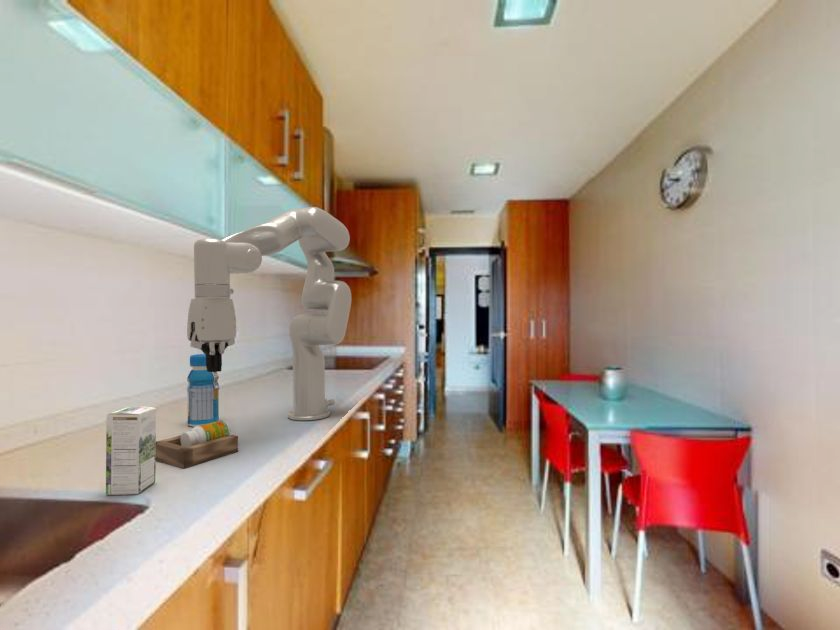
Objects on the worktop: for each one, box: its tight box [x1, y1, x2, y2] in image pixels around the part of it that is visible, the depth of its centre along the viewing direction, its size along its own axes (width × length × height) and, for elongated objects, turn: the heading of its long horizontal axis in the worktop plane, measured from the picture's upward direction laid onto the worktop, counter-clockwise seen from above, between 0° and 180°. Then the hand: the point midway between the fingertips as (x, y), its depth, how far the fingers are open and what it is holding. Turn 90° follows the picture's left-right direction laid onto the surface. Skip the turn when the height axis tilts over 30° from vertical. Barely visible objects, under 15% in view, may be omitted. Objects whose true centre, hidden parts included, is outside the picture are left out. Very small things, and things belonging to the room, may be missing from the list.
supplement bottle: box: [180, 420, 232, 447], centre depth 103 cm, size 5×5×10 cm
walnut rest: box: [156, 434, 239, 470], centre depth 100 cm, size 13×12×4 cm
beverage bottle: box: [186, 353, 220, 428], centre depth 129 cm, size 8×8×20 cm
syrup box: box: [105, 406, 157, 496], centre depth 81 cm, size 6×6×14 cm
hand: (214, 371), depth 104 cm, fingers closed
